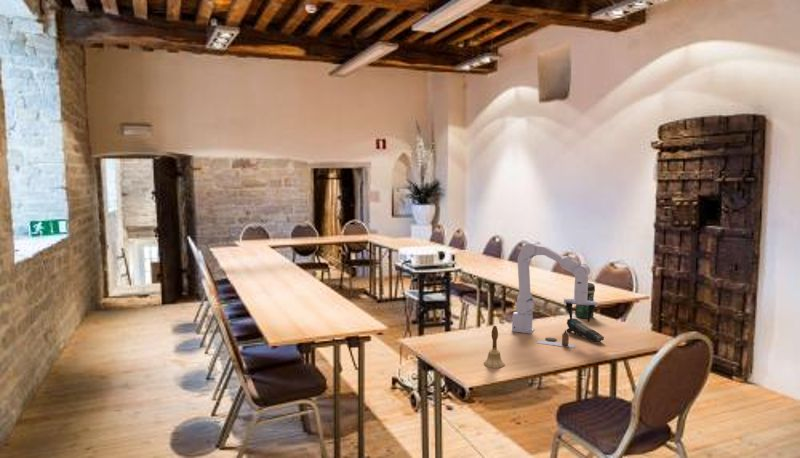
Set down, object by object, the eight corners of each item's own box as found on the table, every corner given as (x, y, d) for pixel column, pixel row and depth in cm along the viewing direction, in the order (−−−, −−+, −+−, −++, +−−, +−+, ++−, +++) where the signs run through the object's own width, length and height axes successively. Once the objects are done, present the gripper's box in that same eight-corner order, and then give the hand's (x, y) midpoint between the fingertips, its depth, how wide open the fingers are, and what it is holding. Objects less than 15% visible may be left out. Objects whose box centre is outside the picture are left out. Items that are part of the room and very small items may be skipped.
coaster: (544, 340, 243) (544, 339, 243) (546, 337, 248) (546, 336, 248) (555, 342, 241) (555, 341, 241) (557, 338, 246) (557, 338, 246)
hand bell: (507, 368, 208) (508, 328, 207) (486, 368, 208) (487, 328, 206) (501, 360, 216) (502, 322, 215) (481, 361, 216) (482, 323, 214)
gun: (570, 329, 260) (576, 312, 256) (598, 354, 243) (605, 337, 239) (563, 330, 258) (568, 313, 254) (591, 356, 241) (597, 338, 237)
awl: (561, 345, 235) (562, 330, 235) (562, 343, 238) (562, 329, 237) (568, 346, 234) (568, 331, 234) (568, 344, 237) (569, 329, 236)
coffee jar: (585, 319, 279) (586, 285, 277) (572, 316, 285) (574, 282, 284) (596, 317, 284) (597, 283, 283) (583, 313, 291) (585, 280, 289)
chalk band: (537, 343, 239) (537, 342, 239) (538, 340, 243) (538, 340, 243) (573, 348, 233) (573, 347, 233) (574, 345, 236) (574, 345, 236)
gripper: (563, 291, 239) (562, 320, 241) (597, 294, 233) (595, 324, 235) (565, 288, 246) (564, 316, 247) (598, 291, 240) (597, 320, 241)
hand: (579, 320), depth 241 cm, fingers open, 7 cm apart
